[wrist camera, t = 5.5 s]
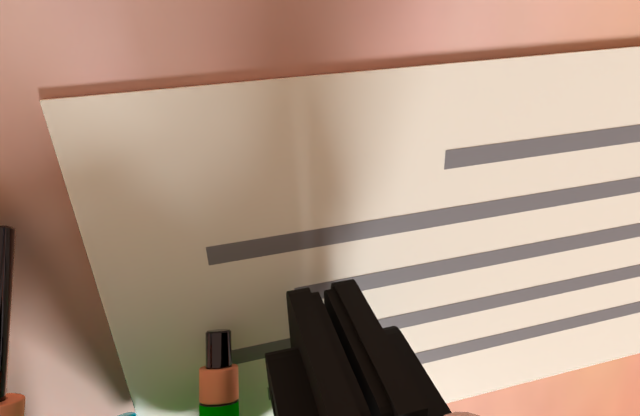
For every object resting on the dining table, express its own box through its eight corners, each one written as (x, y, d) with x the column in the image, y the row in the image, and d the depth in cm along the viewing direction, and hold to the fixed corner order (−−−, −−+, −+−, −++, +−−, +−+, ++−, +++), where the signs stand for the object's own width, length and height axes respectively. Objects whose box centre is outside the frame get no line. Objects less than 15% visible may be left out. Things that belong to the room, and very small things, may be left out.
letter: (769, 34, 12) (773, 34, 12) (656, 346, 17) (658, 348, 17) (40, 99, 9) (38, 100, 9) (156, 475, 13) (156, 479, 13)
